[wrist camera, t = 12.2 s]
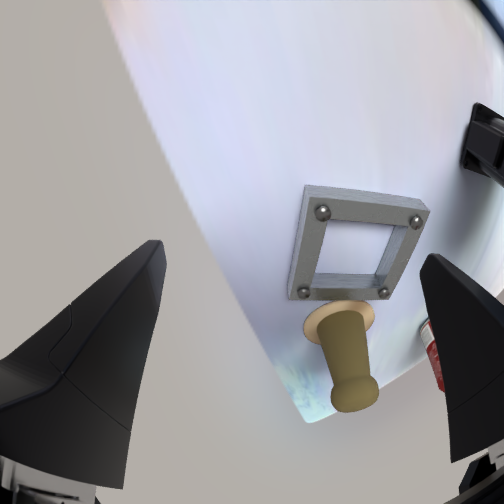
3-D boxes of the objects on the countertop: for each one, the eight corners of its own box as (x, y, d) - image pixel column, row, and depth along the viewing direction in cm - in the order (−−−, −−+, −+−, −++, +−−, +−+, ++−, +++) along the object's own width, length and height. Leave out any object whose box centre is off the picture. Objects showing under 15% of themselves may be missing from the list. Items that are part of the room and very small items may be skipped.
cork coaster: (384, 298, 29) (385, 301, 29) (359, 340, 35) (360, 343, 34) (312, 298, 29) (312, 302, 29) (297, 342, 35) (297, 346, 34)
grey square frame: (419, 199, 21) (432, 213, 19) (383, 286, 28) (389, 302, 26) (305, 184, 21) (310, 199, 19) (287, 285, 28) (289, 303, 26)
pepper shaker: (363, 332, 33) (382, 408, 24) (319, 342, 34) (330, 421, 25) (364, 304, 29) (389, 392, 20) (313, 317, 30) (326, 407, 22)
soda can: (411, 335, 35) (433, 404, 26) (431, 306, 31) (462, 381, 21) (441, 331, 35) (465, 393, 26) (462, 303, 31) (493, 370, 22)
